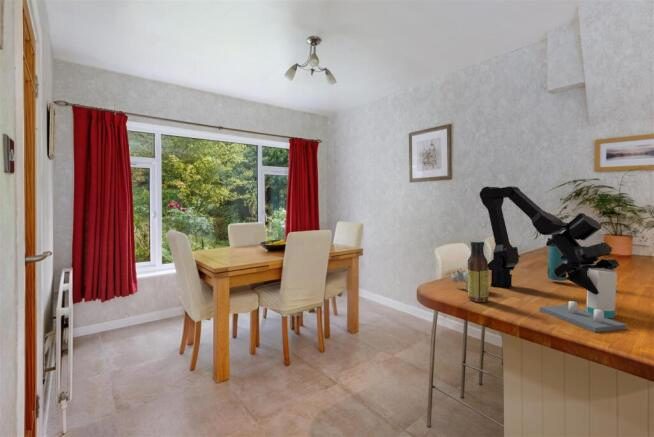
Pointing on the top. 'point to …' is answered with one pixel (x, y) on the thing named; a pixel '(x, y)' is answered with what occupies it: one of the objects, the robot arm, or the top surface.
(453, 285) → the top surface
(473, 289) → the sauce bottle
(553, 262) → the beverage bottle
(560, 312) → the pin plate
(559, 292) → the top surface
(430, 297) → the top surface
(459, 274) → the chubby cartoon animal
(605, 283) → the vase
